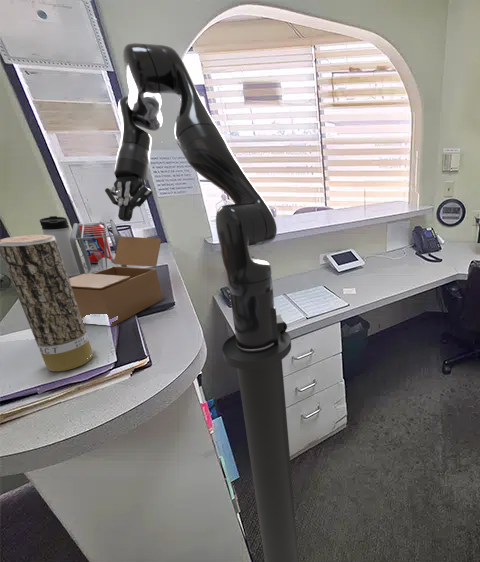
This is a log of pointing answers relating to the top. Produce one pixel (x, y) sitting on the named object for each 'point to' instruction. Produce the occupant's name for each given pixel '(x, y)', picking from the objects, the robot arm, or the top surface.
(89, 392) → the top surface
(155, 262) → the flap
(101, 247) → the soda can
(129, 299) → the carton
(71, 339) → the paper tube
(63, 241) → the travel mug
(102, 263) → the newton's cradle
